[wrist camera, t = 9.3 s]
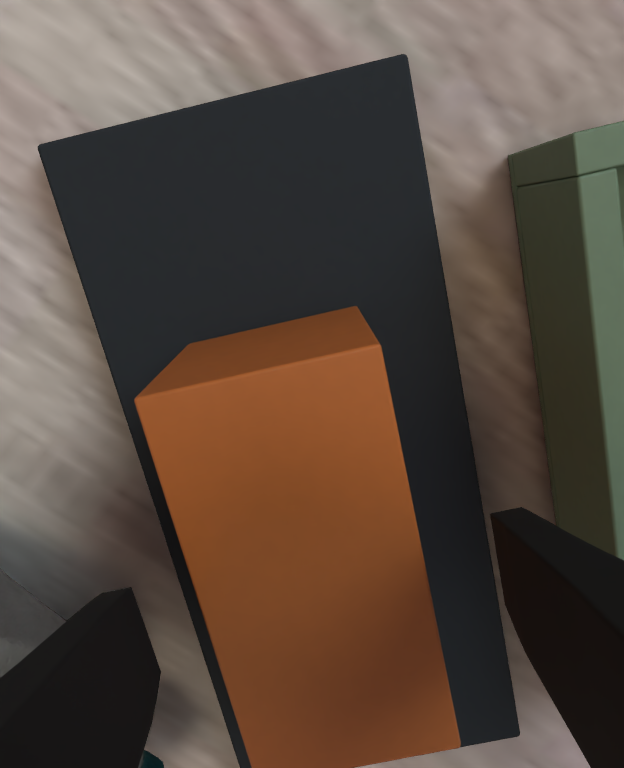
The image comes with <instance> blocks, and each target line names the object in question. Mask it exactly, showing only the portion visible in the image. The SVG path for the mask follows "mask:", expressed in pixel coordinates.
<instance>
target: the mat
mask: <svg viewBox="0 0 624 768" xmlns="http://www.w3.org/2000/svg"><path fill="white" fill-rule="evenodd" d="M38 151H39V154H40V157H41V160H42V163H43V166H44V169H45V172H46V176H47V179H48V182H49V185H50V188H51V191H52V194H53V197H54V200H55V203H56V206H57V209H58V212H59V215H60V218H61V221H62V224H63V227H64V231H65V234H66V237H67V240H68V243H69V246H70V249H71V252H72V255H73V258H74V261H75V264H76V267H77V270H78V273H79V276H80V279H81V283H82V286H83V289H84V292H85V295H86V298H87V301H88V304H89V307H90V310H91V313H92V316H93V319H94V322H95V325H96V328H97V331H98V334H99V338H100V341H101V344H102V347H103V350H104V353H105V356H106V359H107V362H108V365H109V368H110V371H111V374H112V377H113V380H114V383H115V386H116V389H117V393H118V396H119V399H120V402H121V405H122V408H123V411H124V414H125V417H126V420H127V423H128V426H129V429H130V432H131V435H132V438H133V441H134V444H135V448H136V451H137V454H138V457H139V460H140V463H141V466H142V469H143V472H144V475H145V478H146V481H147V484H148V487H149V490H150V493H151V496H152V499H153V503H154V506H155V509H156V512H157V515H158V518H159V521H160V524H161V527H162V530H163V533H164V536H165V539H166V542H167V545H168V548H169V551H170V555H171V558H172V561H173V564H174V567H175V570H176V573H177V576H178V579H179V582H180V585H181V588H182V591H183V594H184V597H185V600H186V603H187V606H188V610H189V613H190V616H191V619H192V622H193V625H194V628H195V631H196V634H197V637H198V640H199V643H200V646H201V649H202V652H203V655H204V658H205V661H206V665H207V668H208V671H209V674H210V677H211V680H212V683H213V686H214V689H215V692H216V695H217V698H218V701H219V704H220V707H221V710H222V713H223V716H224V720H225V723H226V726H227V729H228V732H229V735H230V738H231V741H232V744H233V747H234V750H235V753H236V756H237V759H238V762H239V765H240V768H252V767H251V764H250V761H249V758H248V754H247V751H246V748H245V745H244V742H243V739H242V736H241V733H240V729H239V726H238V723H237V720H236V717H235V714H234V711H233V708H232V705H231V701H230V698H229V695H228V692H227V689H226V686H225V683H224V680H223V676H222V673H221V670H220V667H219V664H218V661H217V658H216V655H215V652H214V648H213V645H212V642H211V639H210V636H209V633H208V630H207V627H206V623H205V620H204V617H203V614H202V611H201V608H200V605H199V602H198V599H197V595H196V592H195V589H194V586H193V583H192V580H191V577H190V574H189V570H188V567H187V564H186V561H185V558H184V555H183V552H182V549H181V546H180V542H179V539H178V536H177V533H176V530H175V527H174V524H173V521H172V518H171V514H170V511H169V508H168V505H167V502H166V499H165V496H164V493H163V489H162V486H161V483H160V480H159V477H158V474H157V471H156V468H155V465H154V461H153V458H152V455H151V452H150V449H149V446H148V443H147V440H146V436H145V433H144V430H143V427H142V424H141V421H140V418H139V415H138V412H137V408H136V405H135V402H134V399H135V398H136V397H137V396H138V395H139V394H140V393H141V392H142V391H143V390H144V389H145V388H146V386H147V385H148V384H149V383H150V382H151V381H152V380H153V379H154V378H155V377H156V376H157V375H158V374H159V373H160V372H161V371H162V370H163V369H164V368H165V367H166V366H167V365H168V364H169V363H170V362H171V361H172V360H173V359H174V358H175V357H176V356H177V355H178V354H179V353H180V352H181V351H182V350H183V349H184V348H185V347H186V346H187V345H188V344H190V343H195V342H199V341H203V340H208V339H212V338H217V337H221V336H225V335H230V334H234V333H238V332H243V331H247V330H252V329H256V328H260V327H265V326H269V325H274V324H278V323H282V322H287V321H291V320H296V319H300V318H304V317H309V316H313V315H317V314H322V313H326V312H331V311H335V310H339V309H344V308H348V307H353V306H357V307H358V309H359V310H360V312H361V314H362V315H363V317H364V319H365V320H366V322H367V324H368V325H369V327H370V328H371V330H372V332H373V333H374V335H375V337H376V338H377V340H378V342H379V343H380V345H381V347H382V352H383V357H384V362H385V367H386V372H387V377H388V382H389V387H390V392H391V397H392V402H393V407H394V412H395V417H396V422H397V427H398V432H399V437H400V442H401V447H402V452H403V457H404V462H405V467H406V472H407V477H408V482H409V487H410V492H411V497H412V502H413V507H414V512H415V517H416V522H417V527H418V532H419V537H420V542H421V547H422V552H423V557H424V562H425V567H426V572H427V577H428V582H429V587H430V592H431V597H432V602H433V607H434V612H435V617H436V622H437V627H438V632H439V637H440V642H441V647H442V652H443V657H444V662H445V667H446V672H447V677H448V682H449V687H450V692H451V697H452V702H453V707H454V712H455V717H456V722H457V727H458V732H459V737H460V741H461V746H460V747H464V746H469V745H475V744H480V743H485V742H491V741H496V740H501V739H507V738H512V737H517V736H519V735H520V730H519V724H518V718H517V712H516V706H515V700H514V694H513V688H512V682H511V676H510V670H509V664H508V658H507V652H506V645H505V639H504V633H503V627H502V621H501V615H500V609H499V603H498V597H497V591H496V585H495V579H494V573H493V567H492V561H491V555H490V549H489V543H488V537H487V531H486V525H485V519H484V513H483V507H482V501H481V495H480V489H479V483H478V477H477V471H476V465H475V459H474V453H473V447H472V441H471V435H470V429H469V423H468V417H467V411H466V405H465V399H464V393H463V387H462V381H461V375H460V369H459V363H458V357H457V351H456V345H455V339H454V333H453V327H452V321H451V315H450V309H449V303H448V297H447V291H446V285H445V279H444V273H443V267H442V261H441V255H440V249H439V243H438V237H437V231H436V225H435V219H434V213H433V207H432V201H431V195H430V189H429V183H428V177H427V171H426V165H425V159H424V153H423V147H422V141H421V135H420V129H419V123H418V117H417V111H416V105H415V99H414V93H413V87H412V81H411V75H410V69H409V63H408V58H407V56H406V55H404V54H401V55H397V56H393V57H389V58H385V59H381V60H377V61H373V62H369V63H365V64H361V65H357V66H353V67H349V68H345V69H341V70H337V71H333V72H329V73H325V74H321V75H317V76H313V77H309V78H305V79H301V80H297V81H293V82H289V83H285V84H281V85H277V86H273V87H269V88H265V89H261V90H257V91H253V92H249V93H245V94H241V95H237V96H233V97H228V98H224V99H220V100H216V101H212V102H208V103H204V104H200V105H196V106H192V107H188V108H184V109H180V110H176V111H172V112H168V113H164V114H160V115H156V116H152V117H148V118H144V119H140V120H136V121H132V122H128V123H124V124H120V125H116V126H112V127H108V128H104V129H100V130H96V131H92V132H88V133H84V134H80V135H76V136H72V137H68V138H64V139H60V140H56V141H52V142H48V143H44V144H40V145H39V146H38Z"/></svg>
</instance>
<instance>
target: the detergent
mask: <svg viewBox="0 0 624 768" xmlns="http://www.w3.org/2000/svg"><path fill="white" fill-rule="evenodd" d="M65 622H66V621H65V620H64V619H63V618H62V617H60V616H59V615H58V614H56V613H55V612H54V611H52V610H51V609H50V608H48V607H47V606H45V605H44V604H43V603H42V602H40V601H39V600H37V599H36V598H35V597H34V596H33V595H32V594H31V593H29V592H28V591H27V590H26V589H25V588H23V587H22V586H20V585H19V584H18V583H16V582H15V581H14V580H12V579H11V578H10V577H9V576H8V575H7V574H5V573H4V572H3V571H2V570H1V568H0V678H1V677H2V676H3V675H4V674H6V673H7V672H8V671H9V670H10V669H12V668H13V667H14V666H15V665H17V664H18V663H19V662H20V661H21V660H22V659H24V658H25V657H26V656H27V655H28V654H29V653H31V652H32V651H33V650H34V649H35V648H36V647H37V646H39V645H40V644H41V643H42V642H43V641H44V640H46V639H47V638H48V637H49V636H50V635H51V634H52V633H54V632H55V631H56V630H57V629H58V628H59V627H61V626H62V625H63V624H64V623H65ZM138 768H164V765H163V762H162V761H161V760H160V759H159V758H158V757H156V756H154V755H153V754H151V753H150V752H148V751H145V750H144V751H143V754H142V757H141V760H140V764H139V767H138Z"/></svg>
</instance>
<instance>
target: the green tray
mask: <svg viewBox="0 0 624 768" xmlns="http://www.w3.org/2000/svg"><path fill="white" fill-rule="evenodd" d="M508 161H509V169H510V176H511V184H512V192H513V199H514V207H515V214H516V222H517V230H518V237H519V245H520V252H521V260H522V268H523V275H524V283H525V290H526V298H527V306H528V313H529V321H530V328H531V336H532V344H533V351H534V359H535V367H536V374H537V382H538V389H539V397H540V405H541V412H542V420H543V427H544V435H545V443H546V450H547V458H548V465H549V473H550V481H551V488H552V496H553V503H554V511H555V519H556V526H558V527H559V528H561V529H563V530H565V531H567V532H568V533H570V534H572V535H574V536H576V537H578V538H580V539H582V540H584V541H586V542H587V543H589V544H591V545H593V546H595V547H597V548H599V549H601V550H603V551H605V552H607V553H609V554H612V555H614V556H616V557H618V558H620V559H622V560H624V121H621V122H617V123H613V124H609V125H605V126H601V127H596V128H592V129H588V130H584V131H580V132H575V133H572V134H569V135H566V136H563V137H561V138H558V139H555V140H552V141H549V142H546V143H543V144H540V145H537V146H534V147H531V148H529V149H526V150H523V151H520V152H517V153H514V154H511V155H509V156H508Z"/></svg>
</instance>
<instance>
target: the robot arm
mask: <svg viewBox="0 0 624 768" xmlns="http://www.w3.org/2000/svg"><path fill="white" fill-rule="evenodd" d="M490 517H491V523H492V529H493V535H494V541H495V547H496V553H497V559H498V565H499V571H500V577H501V583H502V589H503V596H504V602H505V606H506V608H507V611H508V613H509V615H510V618H511V620H512V623H513V625H514V628H515V630H516V632H517V635H518V637H519V639H520V642H521V644H522V646H523V649H524V651H525V653H526V655H527V656H528V658H529V660H530V662H531V664H532V665H533V667H534V669H535V671H536V672H537V674H538V676H539V678H540V680H541V681H542V683H543V685H544V687H545V688H546V690H547V692H548V694H549V695H550V697H551V699H552V701H553V702H554V704H555V706H556V707H557V709H558V711H559V713H560V714H561V716H562V718H563V720H564V721H565V723H566V725H567V727H568V728H569V730H570V732H571V734H572V735H573V737H574V739H575V741H576V742H577V744H578V746H579V748H580V749H581V751H582V753H583V755H584V756H585V758H586V760H587V762H588V763H589V765H590V767H591V768H624V560H622V559H620V558H618V557H616V556H614V555H612V554H609V553H607V552H605V551H603V550H601V549H599V548H597V547H595V546H593V545H591V544H589V543H587V542H586V541H584V540H582V539H580V538H578V537H576V536H574V535H572V534H570V533H568V532H567V531H565V530H563V529H561V528H559V527H558V526H556V525H554V524H552V523H550V522H549V521H547V520H545V519H543V518H541V517H539V516H538V515H536V514H534V513H532V512H530V511H528V510H526V509H524V508H522V507H520V508H515V509H510V510H505V511H501V512H496V513H491V514H490ZM160 675H161V670H160V668H159V665H158V662H157V659H156V656H155V653H154V650H153V648H152V645H151V642H150V639H149V636H148V633H147V630H146V628H145V625H144V622H143V619H142V616H141V613H140V610H139V608H138V605H137V602H136V599H135V596H134V593H133V590H132V588H131V587H129V588H124V589H120V590H115V591H110V592H105V593H102V594H100V595H99V596H97V597H96V598H94V599H93V600H92V601H90V602H89V603H88V604H87V605H85V606H84V607H83V608H82V609H80V610H79V611H78V612H77V613H76V614H74V615H73V616H72V617H71V618H70V619H69V620H67V621H66V622H65V623H64V624H63V625H62V626H61V627H59V628H58V629H57V630H56V631H55V632H54V633H52V634H51V635H50V636H49V637H48V638H47V639H46V640H44V641H43V642H42V643H41V644H40V645H39V646H37V647H36V648H35V649H34V650H33V651H32V652H31V653H29V654H28V655H27V656H26V657H25V658H24V659H22V660H21V661H20V662H19V663H18V664H17V665H15V666H14V667H13V668H12V669H10V670H9V671H8V672H7V673H6V674H4V675H3V676H2V677H1V678H0V768H138V767H139V764H140V760H141V757H142V754H143V751H144V747H145V744H146V741H147V738H148V734H149V731H150V728H151V724H152V720H153V715H154V710H155V705H156V699H157V693H158V687H159V681H160Z"/></svg>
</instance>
